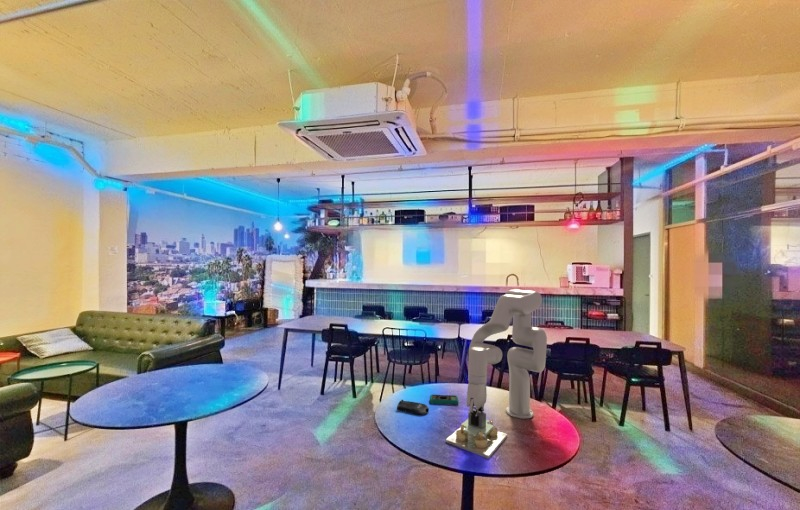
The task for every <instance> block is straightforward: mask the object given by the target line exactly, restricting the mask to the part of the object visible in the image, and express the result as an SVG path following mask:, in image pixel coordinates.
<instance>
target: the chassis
mask: <svg viewBox="0 0 800 510" xmlns="http://www.w3.org/2000/svg"><path fill="white" fill-rule="evenodd" d="M489 421H490V423H489V424H490V425H493V426H494V420H492V419H491V420H489ZM464 429H465V428H464V425H463V424H462V423H461V424H460V427H458V428H457V429H456V430H455V431H454V432H453V433H452V434H450V435H449V436H448V437H447V438H446V439H445V443H446V442H447V444H450V445H451V444H452V445H451V446H454V447H457V448H459V447H460V449H461V450H465V451H468V452H470V453H473V454H475V455H478V456H481V457H483V458H486V459H490V458H491V457H492V456H493V454H494V453H495V452H496V451H497V450H498V449H499V447H500V446H501V445H502V444H501V443H503V442H505V440H507V438H508V434H507V433H505V432H502V431H499V430H498V427H496V426H494V428H493V429H492V430H491V431H490V432H489V433H488V434H487V435H484V434H482V431H479V433H478V434H477V435H476V436H474V435H472V434H469V433H466V432H464ZM495 450H496V451H495Z"/></svg>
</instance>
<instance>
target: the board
mask: <svg viewBox="0 0 800 510" xmlns="http://www.w3.org/2000/svg"><path fill="white" fill-rule="evenodd" d="M473 410H474V411H475V412H476V410H475V409H473ZM467 414H468V415H467V416H468V418H466V419H465V421H463V422H462V423H461V424H463V425H464V428H465V429H464V432H466V433H469V434H472V435H474V436H476V435H477V434H478V433H479V431H482V434H484V435H487V434H488V433H489V432H490V431H491V430H492V429H493V428H494V424H493V425H490V420H489V419H487V413H486V412H484V411H482V412H480V411H478V416H479V426H475V425H472V424H471V414H470V412H469V411H468V412H467Z"/></svg>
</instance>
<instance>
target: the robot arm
mask: <svg viewBox="0 0 800 510" xmlns="http://www.w3.org/2000/svg"><path fill="white" fill-rule="evenodd" d="M542 303H543V298H542V295H541V293H539V292H538V291H534V290H524V289H510V290H509V289H508V290H507V291H505V294H502V295H500V296H499V297H498V300H497V302H496V305H495V307H494V309H493V312H492V314H491V317H490V320H489V321H488V322H486V323H485V324H483V325H482V326H480V328H478V329H477V330H476V331H475V333H474V334H473V336H472V337H471V338H472V339H471V341H470V344H469V347H468V368H467V369H468V373H467V374H468V375H467V377H468V378H467V380H468V385H467V390H466V407H468V412H470V414H471V424H472V425H475V426H479V416H478V411H480V412H484V411H485V408H484V406H485V404H486V403H487V395H488V394H487V383H488V366H489V365H496V364H498V363H500V362H501V361H502V358H503V350H502V349H501V348H500V347H499V346H496V345H492V344H488V343H484V341H485V340H486V339H487V338H489V337H491V336H492V335H493V336H494V335H496V334H500V333H503V332H506V331H507V330H508V329H509V328H510V325H511V322H512V328H511V329H512V331H511V339H512V341H513V343H515V344H516V345H520V346H525V347H529V348H532V349H528V348H525V347H524V348H523V347H519V346H513V347H510V348H508V351H507V354H506V357H507V363H508V372H509V375H508V377H509V381H508V385H509V386H508V387H509V388H508V406H506V408H505V412H506V413H507V415H508V416H511V417H513V418H515V419H523V420H525V419H527V420H528V419H531V418H533V417H534V411H533V410H532V409H531V377H530V374H529V372H528V371H532V372H534V373H535V372H536V373H542V372H543V371H544V370H545V368H546V360H547V344H548V340H547V339H548V337H547V333H546V331H545V330H544V329H543V328H540V327H536V326H535V327H534V326H532V313H533V312H534V311H536V310H538V309H539V308H540V307H541V305H542ZM473 409H474V410H476V412H475V411H474V410H473Z"/></svg>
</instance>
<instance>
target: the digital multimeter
mask: <svg viewBox="0 0 800 510" xmlns="http://www.w3.org/2000/svg"><path fill="white" fill-rule="evenodd" d="M429 403H430V404H431V405H446V404H455V405H454V406H459V397H458V395H454V394H453V395H450V394H449V395H446V394H444V395H443V394H431V395H430V396H429Z"/></svg>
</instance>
